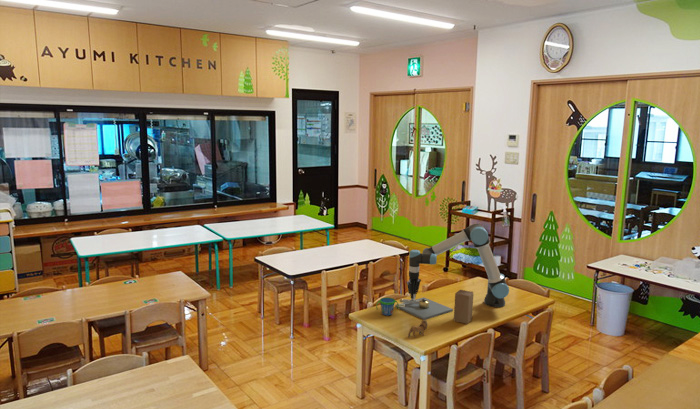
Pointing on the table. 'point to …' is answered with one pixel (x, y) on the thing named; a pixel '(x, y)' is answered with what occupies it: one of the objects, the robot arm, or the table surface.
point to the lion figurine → (418, 328)
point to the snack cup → (387, 305)
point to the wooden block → (463, 306)
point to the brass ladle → (417, 302)
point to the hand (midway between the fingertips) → (413, 302)
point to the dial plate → (424, 309)
